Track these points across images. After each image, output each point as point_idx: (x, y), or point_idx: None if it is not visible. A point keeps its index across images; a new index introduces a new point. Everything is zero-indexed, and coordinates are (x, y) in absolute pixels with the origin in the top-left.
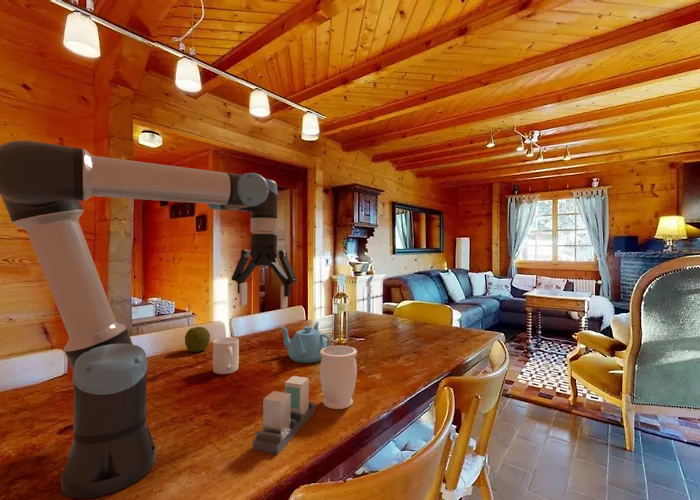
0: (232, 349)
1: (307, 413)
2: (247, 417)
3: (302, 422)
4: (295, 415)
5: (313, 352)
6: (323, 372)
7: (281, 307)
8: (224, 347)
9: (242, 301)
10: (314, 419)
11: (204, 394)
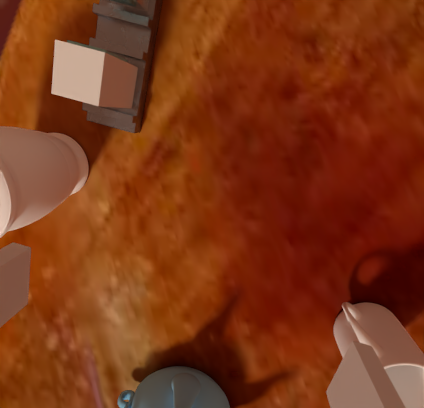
0: None
1: None
2: (229, 82)
3: None
4: (104, 41)
5: (154, 385)
6: (28, 143)
7: (19, 248)
8: (391, 353)
9: (360, 375)
10: None
11: (370, 189)
